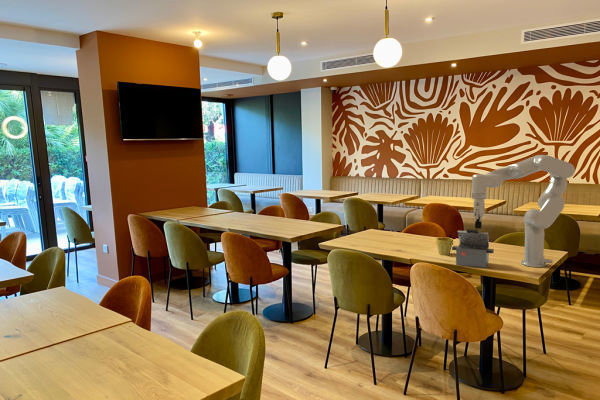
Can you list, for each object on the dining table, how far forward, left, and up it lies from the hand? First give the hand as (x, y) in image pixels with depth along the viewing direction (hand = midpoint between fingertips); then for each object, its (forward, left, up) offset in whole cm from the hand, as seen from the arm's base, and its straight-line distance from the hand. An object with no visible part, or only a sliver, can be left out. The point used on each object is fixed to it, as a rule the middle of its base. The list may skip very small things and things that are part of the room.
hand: (478, 228), depth 246 cm
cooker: (+3, -1, -21) cm, 22 cm away
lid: (+3, -2, -6) cm, 7 cm away
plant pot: (+22, -19, -22) cm, 36 cm away
